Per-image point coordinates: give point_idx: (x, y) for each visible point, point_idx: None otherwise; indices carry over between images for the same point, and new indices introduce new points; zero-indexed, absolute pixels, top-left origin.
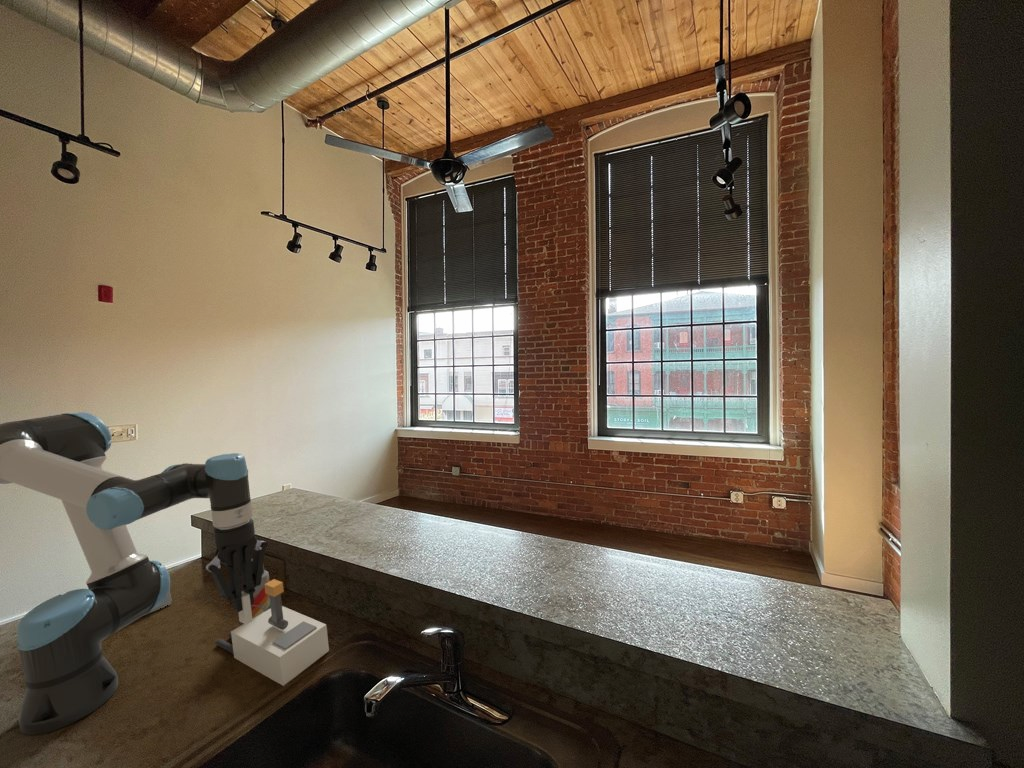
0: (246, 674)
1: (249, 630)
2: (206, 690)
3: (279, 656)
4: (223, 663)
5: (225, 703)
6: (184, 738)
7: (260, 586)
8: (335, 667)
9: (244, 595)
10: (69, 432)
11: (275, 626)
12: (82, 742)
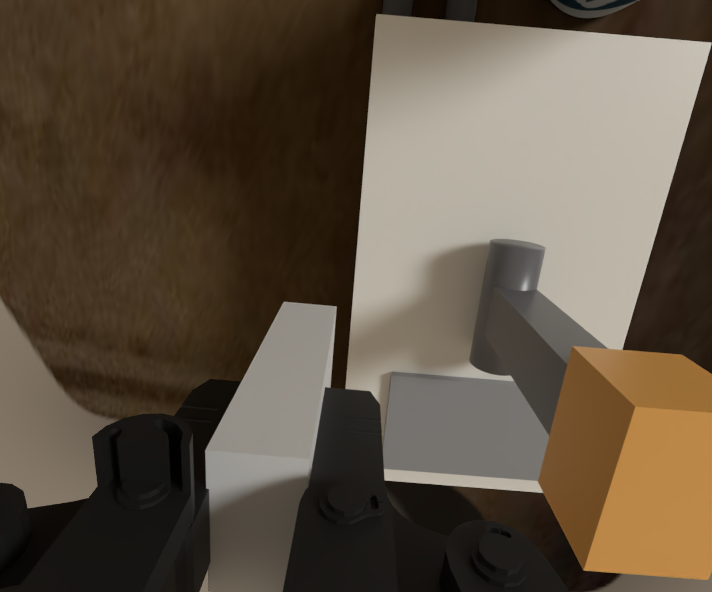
0: (328, 219)
1: (425, 138)
2: (206, 142)
3: None
4: (329, 37)
5: (209, 283)
6: (72, 295)
7: None
8: (468, 489)
9: (250, 572)
10: None
11: (478, 308)
12: None
